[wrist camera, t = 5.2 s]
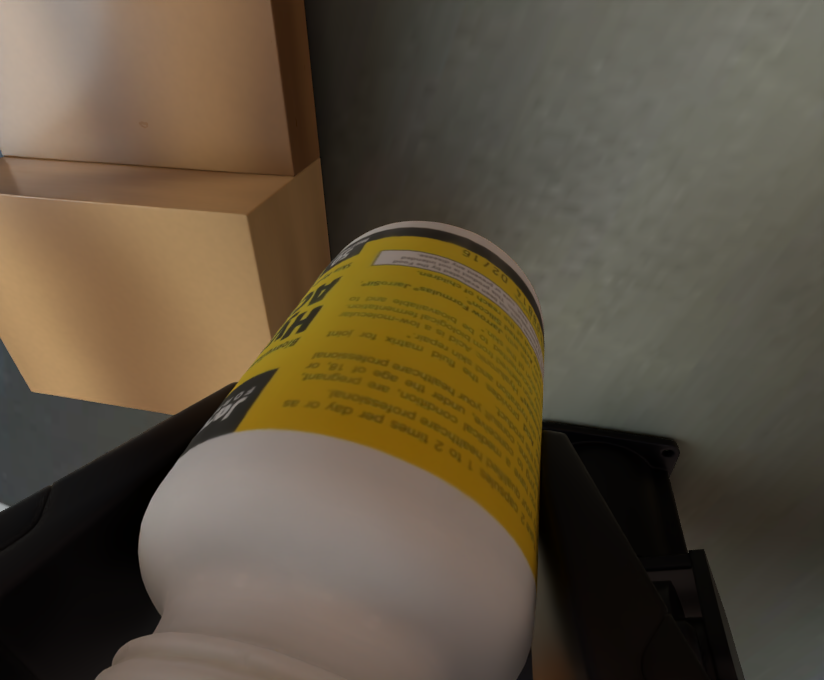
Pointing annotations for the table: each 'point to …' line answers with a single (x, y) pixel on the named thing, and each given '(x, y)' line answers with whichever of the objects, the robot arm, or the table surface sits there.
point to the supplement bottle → (362, 483)
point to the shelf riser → (154, 193)
